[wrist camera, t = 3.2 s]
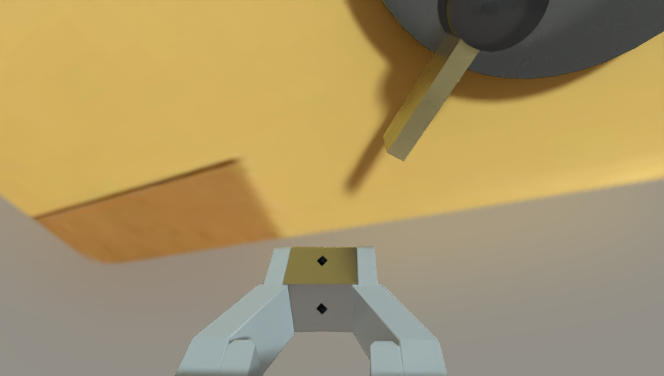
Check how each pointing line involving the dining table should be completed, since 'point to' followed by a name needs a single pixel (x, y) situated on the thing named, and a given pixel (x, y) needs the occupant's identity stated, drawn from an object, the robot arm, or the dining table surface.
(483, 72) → the tribrach plate
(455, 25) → the knob
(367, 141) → the dining table surface
